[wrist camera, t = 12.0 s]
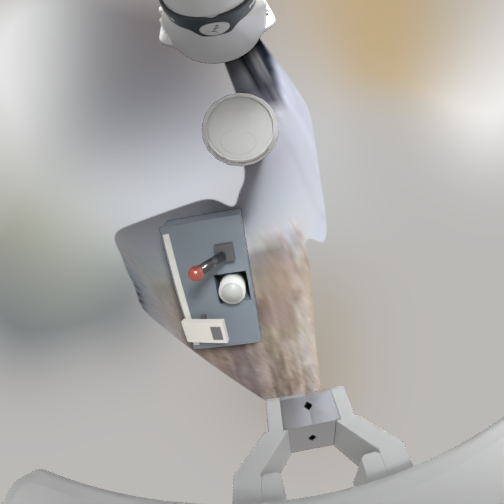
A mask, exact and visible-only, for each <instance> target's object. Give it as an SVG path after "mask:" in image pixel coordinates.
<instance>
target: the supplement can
mask: <svg viewBox="0 0 504 504" xmlns="http://www.w3.org/2000/svg"><path fill="white" fill-rule="evenodd" d="M278 134H279V130H278V120H277V117H276V115H275V113H274V111H273V109H272V108H271V107H270V106H269V105H268V104H267V103H266V102H265V101H264V100H263V99H261V98H258V97H256V96H254V95H252V94H245V93H235V94H231V95H227V96H224V97H223V98H221V99H219V100H218V101H216V102H215V103H213V105H212V106H211V107H210V108H209V110H208V111H207V112H206V114H205V117H204V120H203V124H202V137H203V141H204V143H205V145H206V147H207V149H208V151H209V152H210V153H211V154H212V155H213V156H214V157H215V158H216V159H218V160H220V161H222V162H224V163H226V164H228V165H235V166H246V165H250V164H254V163H257V162H258V161H260V160H261V159H263V158H265V157H266V156H267V155H268V154H269V153H270V151H271V150H272V149H273V147H274V146H275V144H276V141H277V137H278Z"/></svg>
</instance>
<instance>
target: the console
mask: <svg viewBox="0 0 504 504" xmlns="http://www.w3.org/2000/svg"><path fill="white" fill-rule="evenodd" d="M159 230H160V234H161V238H162V242H163V246H164V250H165V254H166V258H167V261H168V265H169V269H170V273H171V276H172V280H173V283H174V287H175V290H176V294H177V297H178V301H179V304H180V307H181V310H182V314H183V317H184V319H224V321H225V325H226V329H227V333H228V337H229V341H228V343H201V342H192V345H193V348H194V349H202V348H213V347H222V346H231V345H240V344H248V343H255V342H262V338H261V326H260V320H259V314H258V309H257V303H256V297H255V291H254V285H253V279H252V274H251V268H250V262H249V256H248V250H247V244H246V238H245V232H244V226H243V221H242V215H241V209H240V208H238V209H232V210H226V211H220V212H214V213H208V214H203V215H197V216H192V217H186V218H181V219H175V220H170V221H167V222H166V223H165V224H164V225H163V226H162V227H161V228H159ZM221 251H222V252H225V253H226V256H227V257H226V260H225V261H223V262H222V263H220V264H219V265H217V266H216V267H214V268H213V269H211V270H210V271H209V272H207V273H206V274H204V275H203V278H202V279H201V280H200V281H196V282H195V281H192V280H190V279H189V277H188V270H189V268H190V267H192V266H195V265H196V266H198V265H199V264H201V263H203V262H204V261H206V260H207V259H209V258H210V257H212V256H214V255H215V254H217V253H218V252H221ZM233 272H239V273H241V274H242V275H243V276H244V278H245V282H246V293H245V297H244V299H243V300H242V301H241V302H239V303H236V304H229V303H226V302H224V301H223V300H222V299H221V298H220V296H219V286H220V281H221V277H222V276H223V274H226V273H233Z"/></svg>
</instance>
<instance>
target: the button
mask: <svg viewBox="0 0 504 504" xmlns="http://www.w3.org/2000/svg"><path fill="white" fill-rule="evenodd" d="M245 293H246V282H245V278H244V276H243V275H242V274H241V273H239V272H233V273H226V274H223V276H222V277H221V281H220V286H219V296H220V298H221V299H222V300H223V301H224V302H226V303H229V304H236V303H239V302H241V301H242V300H243V299H244V297H245Z"/></svg>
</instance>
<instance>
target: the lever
mask: <svg viewBox="0 0 504 504" xmlns="http://www.w3.org/2000/svg"><path fill="white" fill-rule="evenodd" d="M226 257H227V256H226V253H225V252H222V251H221V252H218V253H217V254H215V255H214V256H212V257H210V258H209V259H207V260H206V261H204V262H203V263H201V264H199V265H198V266H196V265H195V266H192V267H190V268H189V270H188V277H189V279H190V280H192V281H195V282H196V281H200V280H201V279H202V278H203V275H204V274H206V273H207V272H209V271H210V270H211V269H213V268H214V267H216V266H217V265H219V264H220V263H222V262H223V261H225V260H226Z"/></svg>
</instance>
